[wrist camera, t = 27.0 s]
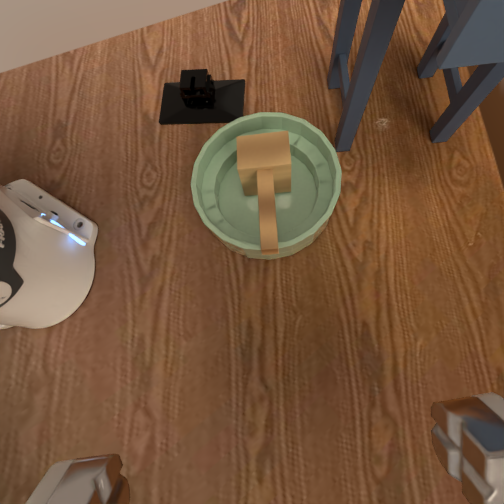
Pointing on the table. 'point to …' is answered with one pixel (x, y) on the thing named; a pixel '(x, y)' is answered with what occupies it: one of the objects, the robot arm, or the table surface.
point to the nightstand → (436, 56)
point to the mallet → (265, 178)
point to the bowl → (287, 203)
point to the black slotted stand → (201, 99)
